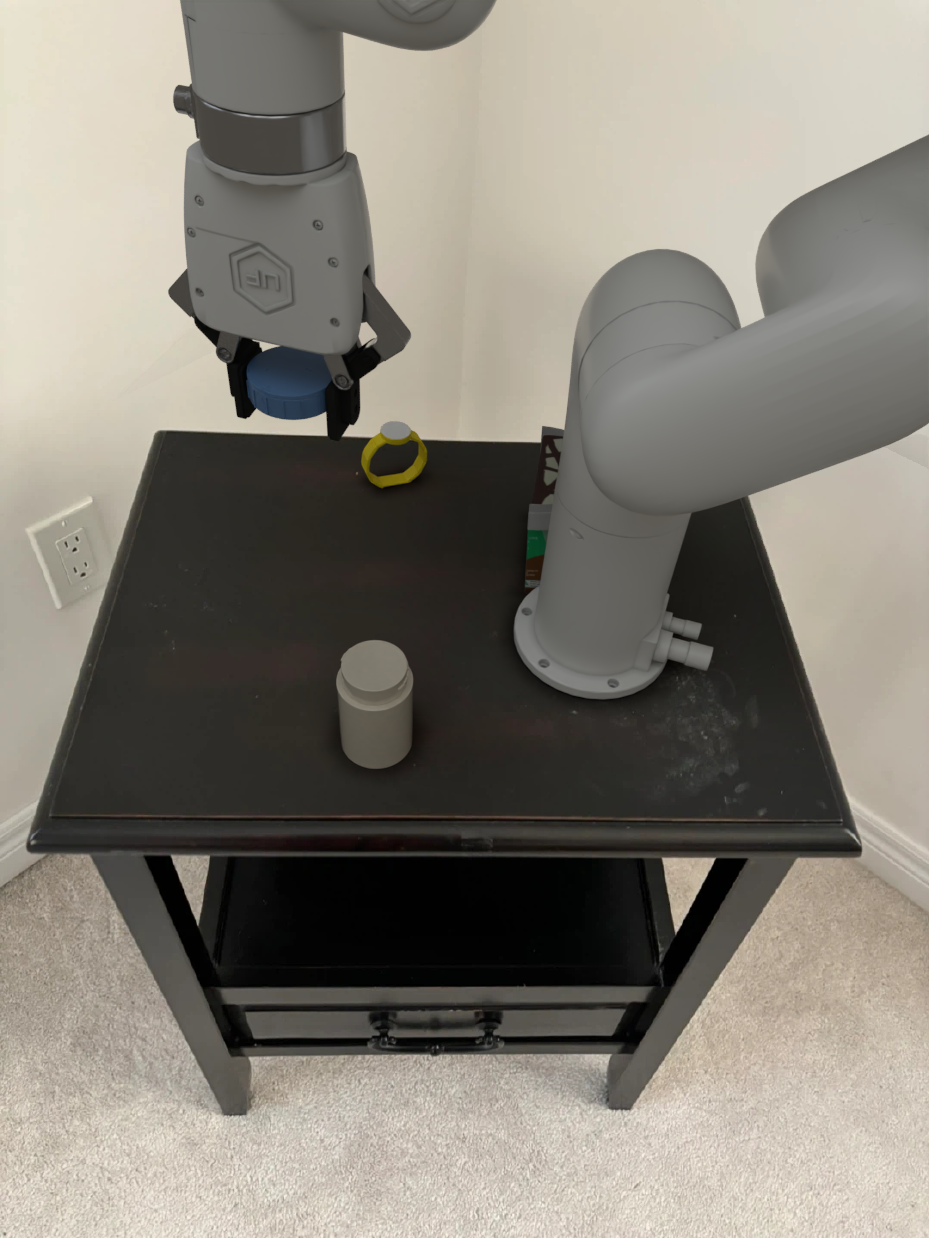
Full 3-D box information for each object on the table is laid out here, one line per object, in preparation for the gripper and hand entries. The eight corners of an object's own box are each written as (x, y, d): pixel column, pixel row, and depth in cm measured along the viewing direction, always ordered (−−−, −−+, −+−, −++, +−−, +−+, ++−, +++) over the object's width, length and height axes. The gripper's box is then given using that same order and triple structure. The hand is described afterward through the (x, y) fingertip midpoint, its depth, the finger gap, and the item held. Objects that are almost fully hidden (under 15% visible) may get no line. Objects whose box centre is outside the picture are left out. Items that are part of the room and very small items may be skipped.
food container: (596, 612, 77) (610, 516, 70) (522, 605, 78) (528, 508, 71) (602, 522, 86) (615, 428, 79) (536, 516, 86) (542, 422, 79)
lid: (233, 408, 58) (230, 384, 57) (271, 361, 62) (269, 337, 61) (318, 429, 57) (317, 404, 56) (352, 380, 61) (351, 355, 60)
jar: (422, 722, 69) (424, 647, 63) (397, 778, 66) (396, 705, 60) (357, 702, 70) (353, 626, 64) (329, 756, 67) (321, 682, 60)
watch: (368, 497, 86) (367, 445, 82) (359, 479, 88) (357, 427, 83) (429, 484, 88) (430, 432, 83) (418, 466, 89) (419, 414, 85)
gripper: (82, 123, 47) (149, 420, 60) (407, 187, 44) (401, 482, 58) (157, 75, 52) (203, 360, 65) (453, 130, 49) (438, 415, 62)
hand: (296, 415), depth 61 cm, fingers closed on lid, 5 cm apart
